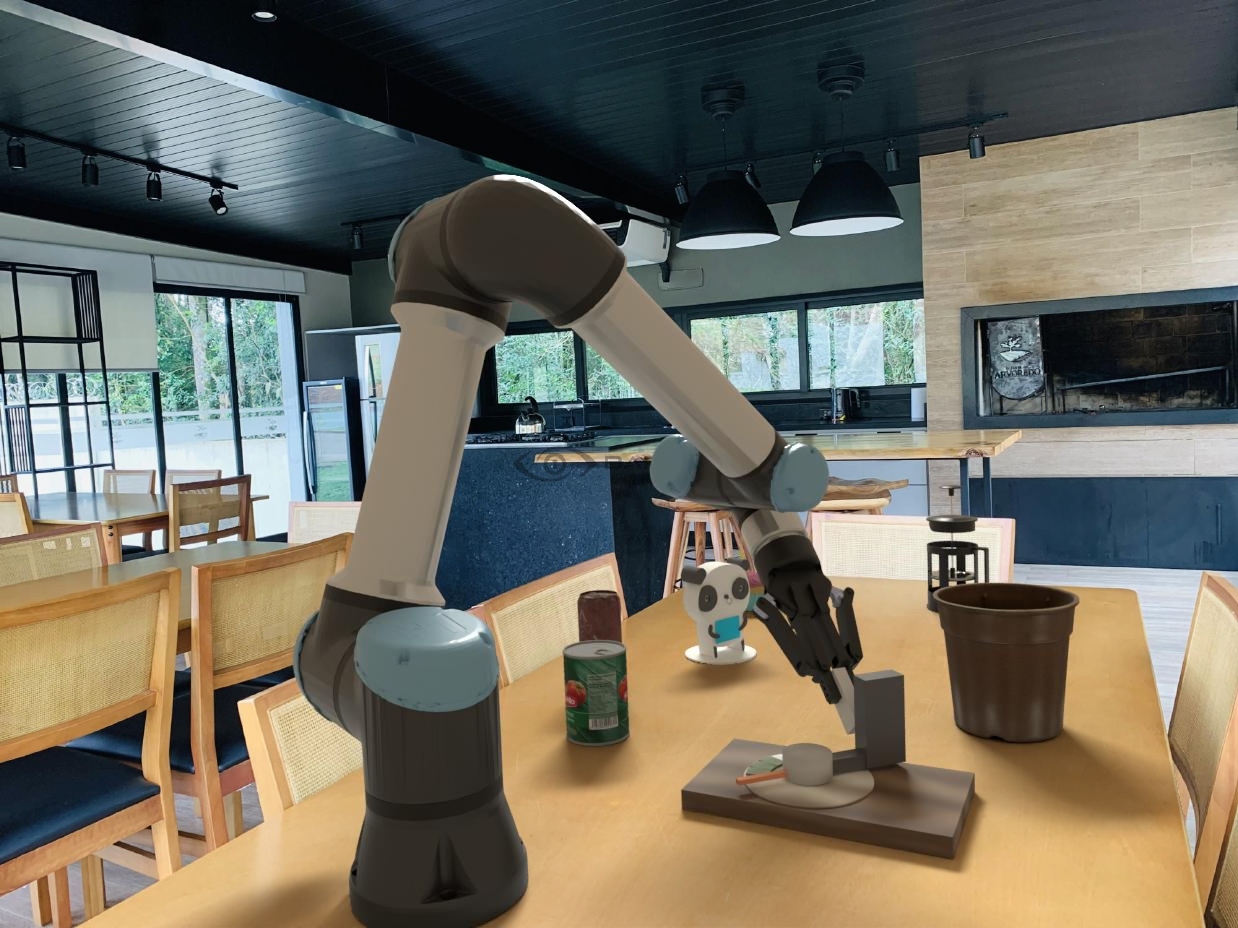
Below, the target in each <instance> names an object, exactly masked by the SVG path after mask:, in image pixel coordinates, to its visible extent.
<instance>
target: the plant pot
mask: <svg viewBox="0 0 1238 928" xmlns="http://www.w3.org/2000/svg"><path fill="white" fill-rule="evenodd" d="M933 598H934V600H935V601H936V602H937V604H938V611H939V612H938V616H939V624H940V627H941V629H942V630H943V637H944V643H945V650H946V652H945V653H946V658H947V659H946V660H947V667H948V675H949V683H950V692H951V694H950V695H951V700H952V708H953V719H954V723H955V724H956V725H957V726H958V728H960V729H961V730H963V731H965V732H967V733H969V734H971V735H975V736H977V737H979V738H985V739H990V738H991V737H994V736H995V737H998V738H1001V739H1003V741H1005V742H1013V743H1014V742H1017V743H1018V742H1021V743H1022V742H1023V743H1024V742H1025V743H1034V742H1041V741H1042V742H1043V741H1045V740H1048V739H1052V738H1055V737H1057V736H1058V735H1060V733H1061V731H1062V729H1063V727H1064V715H1065V713H1064V712H1065V701H1066V700H1065V699H1066V687H1067V686H1066V685H1067V675H1068V673H1067V672H1068V659H1069V649H1070V648H1069V647H1070V638H1071V637H1070V636H1072V634H1073V632H1074V625H1075V624H1074V623H1075V611H1076V607H1077V606H1078V605H1079V604H1080V597H1079V595H1077V594H1075V593H1074V592H1072V591H1069V590H1065V589H1062V588H1057V587H1053V586H1048V585H1039V584H1032V583H1031V584H1030V583H1020V582H1016V583H1015V582H989V583H985V582H978V583H974V582H972V583H966V584H961V585H957V584H955V585H949V587H945V588H941V589H938V590H937V591H935V592H934V593H933Z"/></svg>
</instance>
